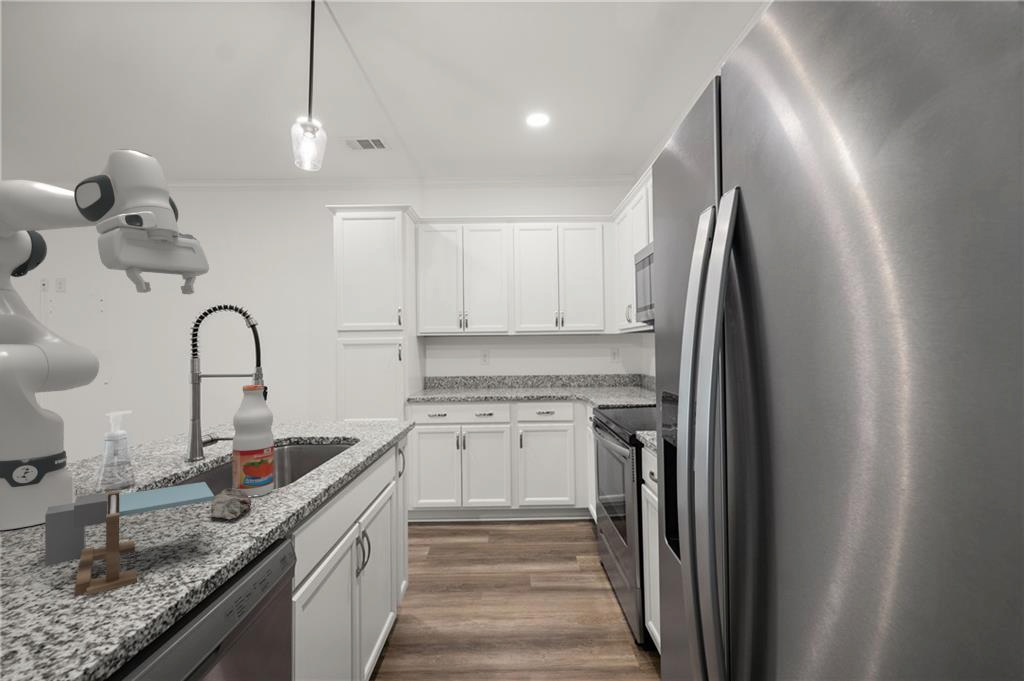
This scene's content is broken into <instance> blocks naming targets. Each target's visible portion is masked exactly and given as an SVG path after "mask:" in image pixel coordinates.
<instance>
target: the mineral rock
mask: <svg viewBox="0 0 1024 681" xmlns="http://www.w3.org/2000/svg"><path fill="white" fill-rule="evenodd" d="M210 502H211V507H210V508H211V509H210V515H211V517H213V518H220V519H221V518H222V519H226V520H231V519H236V518H238V517H240V516H241V515H243V514H242V513H245V514H246V513H248V512H249V511H250V510H251V506H252V499H250V498H248V496H247V495H246V493H245V492H244V491H243V490H238V489H234V488H233V487H232V488H230V487H226V488H224V489H222V491H221V492H220V493H218V494H216V495H214V500H213V501H210Z"/></svg>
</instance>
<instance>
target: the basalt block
mask: <svg viewBox="0 0 1024 681" xmlns="http://www.w3.org/2000/svg"><path fill="white" fill-rule="evenodd" d="M74 504H75V503H71V504H64V505H58V506H52V507H48V510H47V512H46V514H45V523H44V524H45V526H44V532H45V536H44V544H45V545H44V552H45V553H44V563H45V564H44V566H45V567H49V566H53V564H54V565H57V563H58V564H62V563H61V562H63V563H67V562H71V561H70V560H72V561H75V559H76V560H80V559H79V558H80V557H81V552H82V549H85V548H87V547H86V545H87V542H86V541H87V526H84V527H78V528H73V526H74ZM66 561H67V562H66ZM48 565H49V566H48Z"/></svg>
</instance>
